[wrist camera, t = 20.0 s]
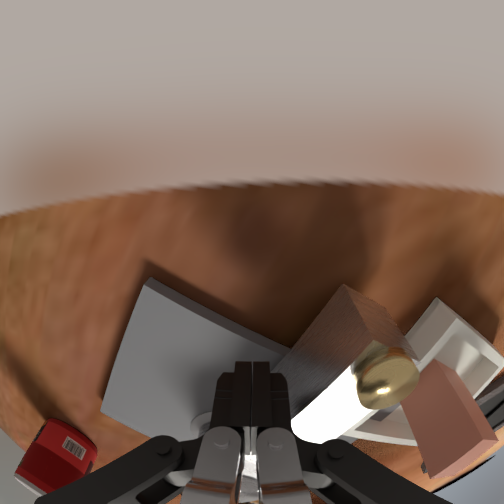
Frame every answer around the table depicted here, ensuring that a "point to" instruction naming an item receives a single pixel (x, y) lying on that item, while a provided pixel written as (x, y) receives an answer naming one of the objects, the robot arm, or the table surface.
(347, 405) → the crank
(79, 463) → the canned food
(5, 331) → the table surface
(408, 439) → the tray
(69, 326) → the table surface
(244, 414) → the robot arm
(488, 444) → the block
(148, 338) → the crank plate
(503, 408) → the picture frame
